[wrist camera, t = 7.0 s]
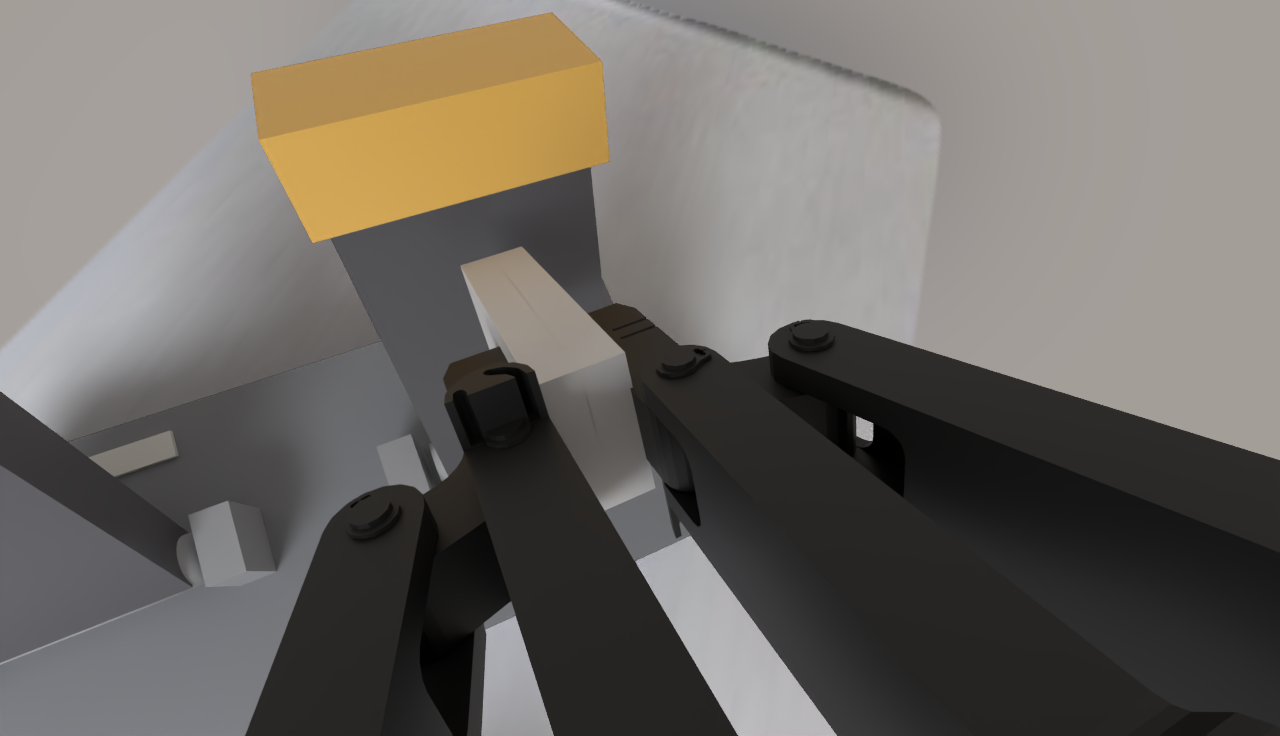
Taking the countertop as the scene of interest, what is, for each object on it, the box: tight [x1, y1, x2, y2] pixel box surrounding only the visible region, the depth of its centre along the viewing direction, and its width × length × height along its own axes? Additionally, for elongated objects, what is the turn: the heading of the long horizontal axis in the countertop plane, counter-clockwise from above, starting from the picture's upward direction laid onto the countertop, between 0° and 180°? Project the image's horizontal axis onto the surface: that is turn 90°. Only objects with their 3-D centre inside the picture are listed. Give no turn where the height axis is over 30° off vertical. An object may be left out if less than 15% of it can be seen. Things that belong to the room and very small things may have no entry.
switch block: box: [0, 278, 691, 736], centre depth 24 cm, size 26×12×8 cm, turn 114°
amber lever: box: [251, 13, 609, 481], centre depth 19 cm, size 3×7×15 cm, turn 114°
